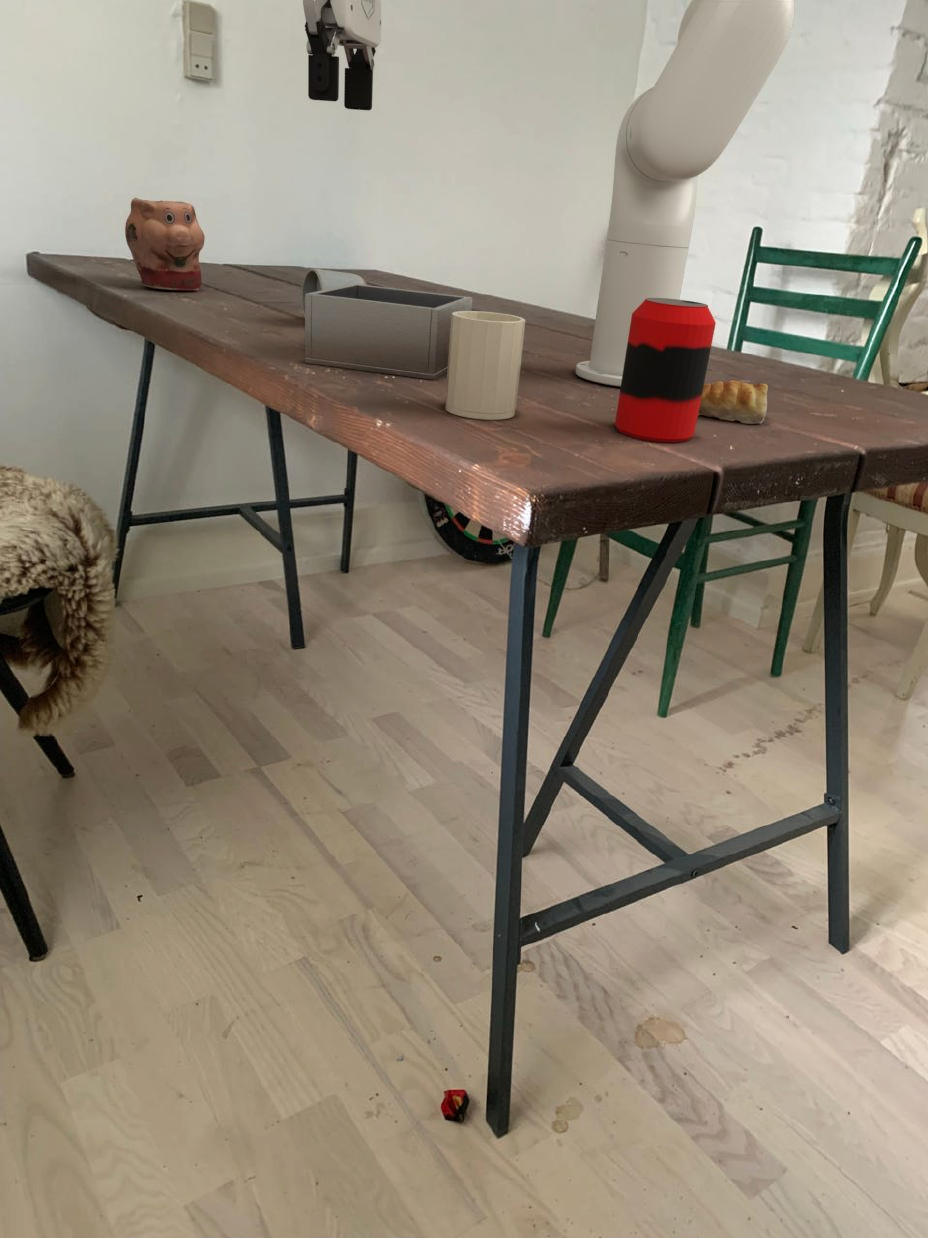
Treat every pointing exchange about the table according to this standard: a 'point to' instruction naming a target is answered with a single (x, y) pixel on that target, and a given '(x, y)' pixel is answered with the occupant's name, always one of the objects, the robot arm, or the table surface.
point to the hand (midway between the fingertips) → (341, 104)
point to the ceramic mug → (327, 281)
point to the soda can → (664, 370)
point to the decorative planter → (165, 244)
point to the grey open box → (381, 329)
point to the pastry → (734, 401)
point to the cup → (484, 364)
